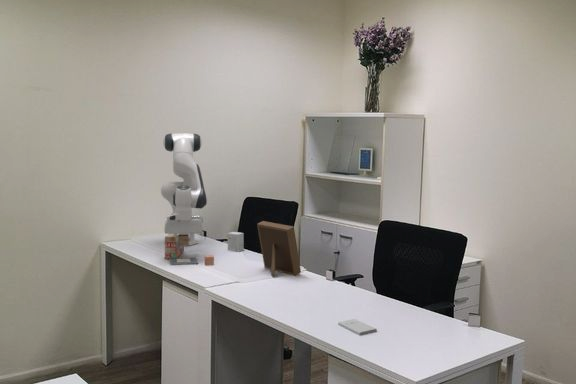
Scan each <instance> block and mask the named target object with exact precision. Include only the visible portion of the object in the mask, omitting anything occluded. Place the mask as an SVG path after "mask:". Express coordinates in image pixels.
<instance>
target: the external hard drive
mask: <svg viewBox="0 0 576 384" xmlns="http://www.w3.org/2000/svg"><path fill="white" fill-rule="evenodd" d="M337 325H338V326H340V327H341V328H344V329H345V330H347V331H350V332H352V333H354V334H355V335H358V336H362V335H363V336H364V335H368V334H372V333H376V332H377V331H378V328H375V327H373V326H372V325H369V324H366V323H364V322H363V321H360V320H357V319H355V318H351V319H346V320H342V321H339V322H338V323H337Z"/></svg>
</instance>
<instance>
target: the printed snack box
mask: <svg viewBox="0 0 576 384" xmlns="http://www.w3.org/2000/svg"><path fill="white" fill-rule="evenodd" d="M179 235H180V233H178V234H177V236H176V237H177V238H179ZM184 251H185V246H184V245H179V242H176V238H175V236H174V234H166V235H165V236H164V258H165V259H170V258H179V256H180V255H181V254H182V253H183V252H184Z"/></svg>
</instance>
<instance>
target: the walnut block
mask: <svg viewBox="0 0 576 384" xmlns="http://www.w3.org/2000/svg"><path fill="white" fill-rule="evenodd" d="M179 245H187V246H190V245H189V236H188V234H182V235H179Z"/></svg>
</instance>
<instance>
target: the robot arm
mask: <svg viewBox="0 0 576 384" xmlns="http://www.w3.org/2000/svg"><path fill="white" fill-rule="evenodd" d="M202 143H203V141H202V138H201V136H200V135H199V134H197V133H186V132H182V133H181V132H179V133H168V134H165V136H164V138H163V147H164V148H165V150H166V151H168V152H172V159H173V160H172V171H173V173H174V175H175V176H177V177H179V178H181V179H182V181H169V182H164V183H163V184H162V185H161V188H160V194H161V196H162V197H163V199H165V200H166V201H168V203H169V204H170V206H171V207H172V213H170V214H167V215H166V219H167V220H166V221H165V223H164V230H163V231H164V233H165V234H166V235H168V234H174V236H175V238H176V242H179V238H177V237H176V236H177V234H178V233H180V235H182V234H188V236H189V245H184V247H185V246H192V245H195V244H196V245H197V244H198V243H199V242H198V241H197V240H196V239H195V238H196V237H195V234H202V233H203V230H204V229H203V223H204V218H203V216H201V215H193V210H192V209H203V208H205V206H206V205H207V204H208V197H207V193H206V191H205V187H204V181H203V177H202V176H203V175H202V171H201V168H200V166H199V164H198V163H196V162H195V160H194V156H193V155H194V153H196V152H198V151H200V150H201V147H202V145H203V144H202Z"/></svg>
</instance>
